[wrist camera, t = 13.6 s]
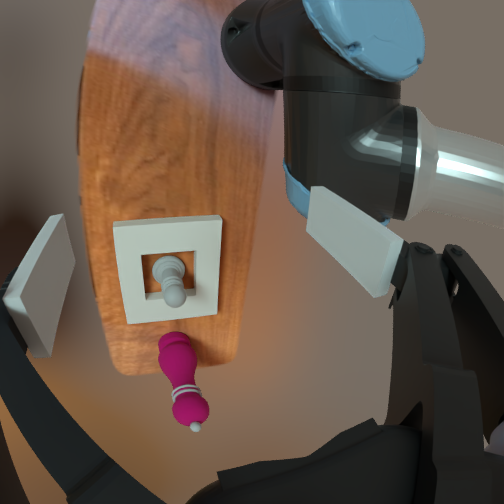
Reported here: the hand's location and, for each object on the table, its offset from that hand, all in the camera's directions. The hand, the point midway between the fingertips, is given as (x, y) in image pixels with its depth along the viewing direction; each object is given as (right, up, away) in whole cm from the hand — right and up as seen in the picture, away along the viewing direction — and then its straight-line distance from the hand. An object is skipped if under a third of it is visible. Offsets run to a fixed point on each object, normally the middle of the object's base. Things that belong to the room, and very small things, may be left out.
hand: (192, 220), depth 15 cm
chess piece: (-11, -4, +32) cm, 34 cm away
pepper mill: (-12, -19, +41) cm, 46 cm away
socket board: (-10, -4, +32) cm, 34 cm away
